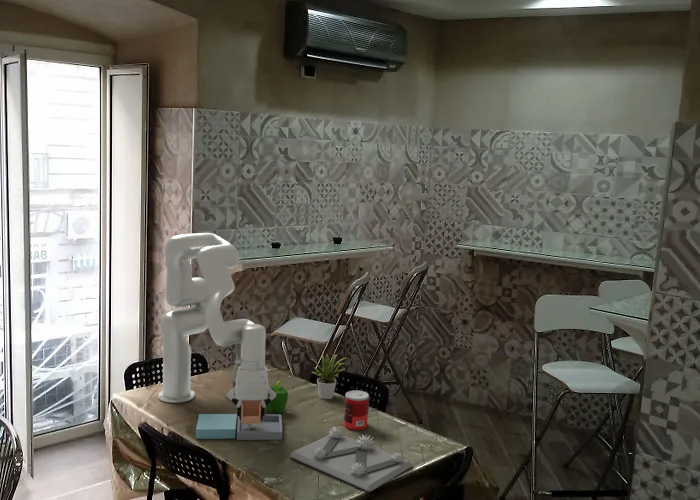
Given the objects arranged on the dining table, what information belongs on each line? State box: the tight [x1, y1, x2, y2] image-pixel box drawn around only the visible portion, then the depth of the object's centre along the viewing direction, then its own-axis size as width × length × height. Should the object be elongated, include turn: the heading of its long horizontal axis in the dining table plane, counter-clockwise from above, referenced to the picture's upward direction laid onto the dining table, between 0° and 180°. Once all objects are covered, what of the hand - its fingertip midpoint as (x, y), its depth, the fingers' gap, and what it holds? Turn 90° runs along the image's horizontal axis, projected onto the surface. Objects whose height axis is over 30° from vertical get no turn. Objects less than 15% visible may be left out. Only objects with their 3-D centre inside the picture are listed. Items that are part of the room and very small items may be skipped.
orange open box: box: [241, 400, 261, 424], centre depth 213 cm, size 6×6×6 cm
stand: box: [195, 413, 238, 440], centre depth 213 cm, size 12×12×3 cm
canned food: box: [343, 390, 370, 432], centre depth 221 cm, size 8×8×11 cm
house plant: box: [309, 352, 347, 400], centre depth 245 cm, size 14×14×16 cm
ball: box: [248, 424, 258, 429], centre depth 214 cm, size 3×3×3 cm
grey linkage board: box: [290, 426, 413, 493], centre depth 195 cm, size 30×22×7 cm
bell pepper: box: [265, 380, 289, 414], centre depth 231 cm, size 8×8×10 cm
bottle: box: [229, 343, 241, 400], centre depth 239 cm, size 9×9×28 cm
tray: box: [236, 413, 283, 441], centre depth 215 cm, size 14×14×2 cm
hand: (250, 417), depth 214 cm, fingers closed on orange open box, 6 cm apart
